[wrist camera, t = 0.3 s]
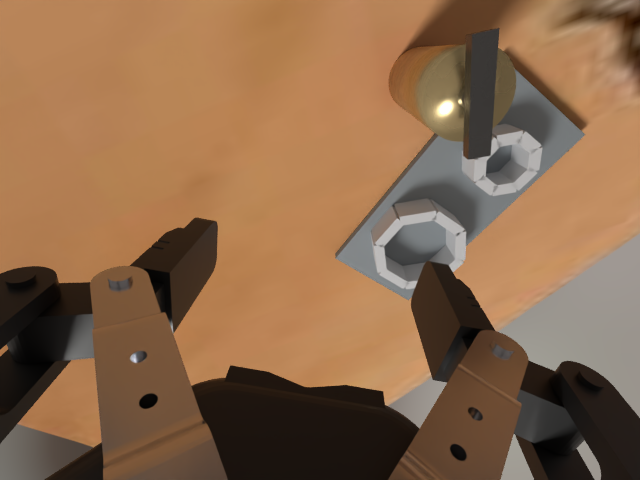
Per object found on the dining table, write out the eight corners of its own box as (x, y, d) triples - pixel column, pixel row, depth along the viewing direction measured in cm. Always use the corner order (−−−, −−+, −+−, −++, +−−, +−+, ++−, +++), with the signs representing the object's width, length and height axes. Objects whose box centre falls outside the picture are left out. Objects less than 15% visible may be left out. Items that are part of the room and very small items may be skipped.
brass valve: (385, 47, 27) (430, 43, 15) (446, 33, 26) (543, 18, 14) (391, 120, 30) (433, 166, 18) (446, 109, 29) (526, 149, 17)
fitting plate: (497, 57, 27) (522, 58, 24) (577, 132, 30) (610, 142, 27) (335, 253, 38) (336, 274, 34) (406, 294, 40) (413, 317, 37)
